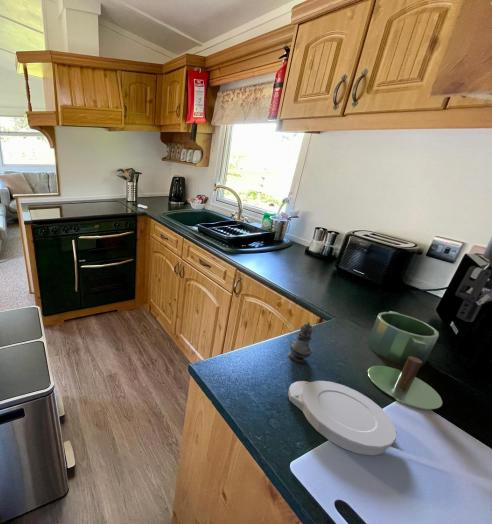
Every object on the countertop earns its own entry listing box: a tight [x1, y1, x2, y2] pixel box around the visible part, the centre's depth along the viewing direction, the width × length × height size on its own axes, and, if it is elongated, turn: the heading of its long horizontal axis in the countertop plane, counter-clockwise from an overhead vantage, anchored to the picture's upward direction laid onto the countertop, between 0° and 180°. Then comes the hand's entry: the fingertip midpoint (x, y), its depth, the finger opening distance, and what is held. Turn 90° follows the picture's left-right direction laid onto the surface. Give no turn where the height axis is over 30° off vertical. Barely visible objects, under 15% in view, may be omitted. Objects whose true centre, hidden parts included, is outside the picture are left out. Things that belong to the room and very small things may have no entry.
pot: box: [366, 310, 440, 368], centre depth 86 cm, size 14×19×10 cm
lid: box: [287, 380, 397, 456], centre depth 64 cm, size 17×20×3 cm
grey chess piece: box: [287, 321, 314, 365], centre depth 81 cm, size 6×6×12 cm
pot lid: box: [367, 356, 443, 411], centre depth 72 cm, size 15×15×9 cm
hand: (482, 319), depth 55 cm, fingers open, 8 cm apart
